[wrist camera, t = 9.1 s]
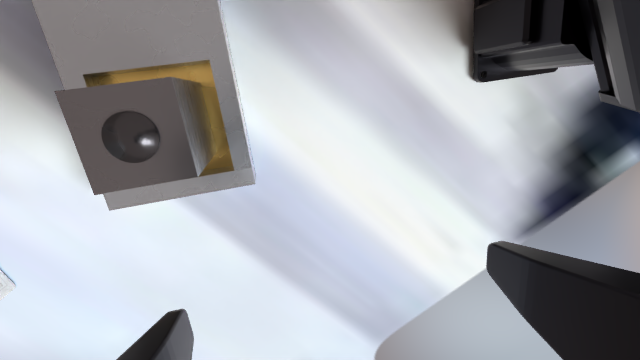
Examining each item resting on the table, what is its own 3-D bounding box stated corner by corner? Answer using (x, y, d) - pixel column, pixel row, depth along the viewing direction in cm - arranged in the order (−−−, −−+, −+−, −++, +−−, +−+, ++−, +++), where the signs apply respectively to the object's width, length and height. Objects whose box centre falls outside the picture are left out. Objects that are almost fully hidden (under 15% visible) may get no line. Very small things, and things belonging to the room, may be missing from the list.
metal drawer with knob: (200, 82, 17) (170, 76, 11) (216, 151, 18) (197, 177, 12) (125, 92, 16) (52, 91, 11) (147, 162, 18) (93, 195, 12)
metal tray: (171, -239, 14) (155, -298, 12) (255, 174, 20) (255, 183, 18) (-28, -244, 13) (-84, -310, 11) (126, 197, 19) (109, 210, 16)
